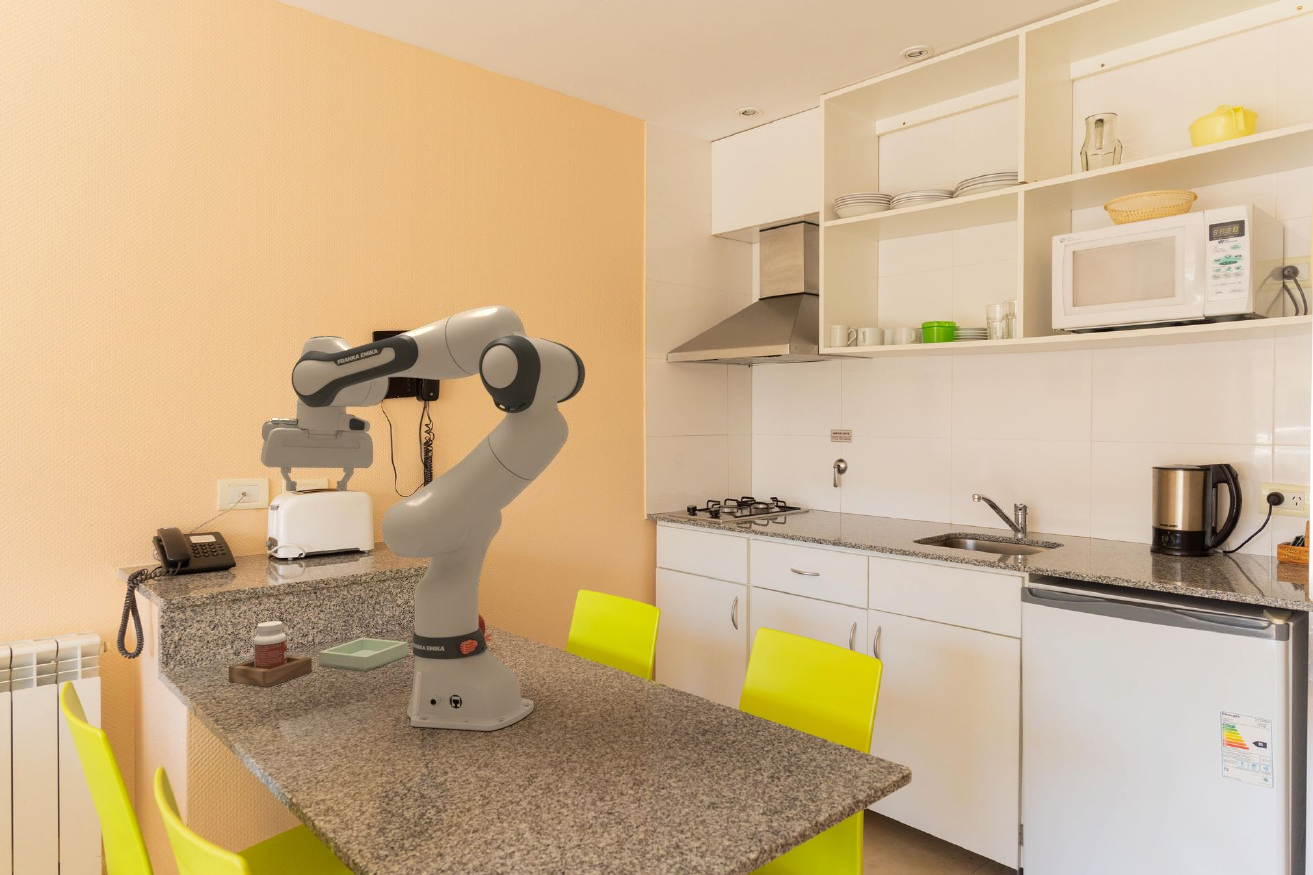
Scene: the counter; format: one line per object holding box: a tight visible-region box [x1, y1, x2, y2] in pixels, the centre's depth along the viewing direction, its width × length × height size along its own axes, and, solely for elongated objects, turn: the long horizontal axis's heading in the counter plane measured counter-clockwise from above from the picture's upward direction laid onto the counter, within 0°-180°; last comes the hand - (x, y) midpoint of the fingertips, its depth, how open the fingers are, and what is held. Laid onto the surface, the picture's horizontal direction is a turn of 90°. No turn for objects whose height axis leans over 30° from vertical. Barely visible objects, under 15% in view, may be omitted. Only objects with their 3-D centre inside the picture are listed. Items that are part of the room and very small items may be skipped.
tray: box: [318, 637, 409, 672], centre depth 178 cm, size 13×13×3 cm
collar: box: [228, 654, 313, 688], centre depth 167 cm, size 11×11×3 cm
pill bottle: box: [253, 620, 288, 669], centre depth 167 cm, size 6×6×11 cm
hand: (316, 490), depth 158 cm, fingers open, 8 cm apart
